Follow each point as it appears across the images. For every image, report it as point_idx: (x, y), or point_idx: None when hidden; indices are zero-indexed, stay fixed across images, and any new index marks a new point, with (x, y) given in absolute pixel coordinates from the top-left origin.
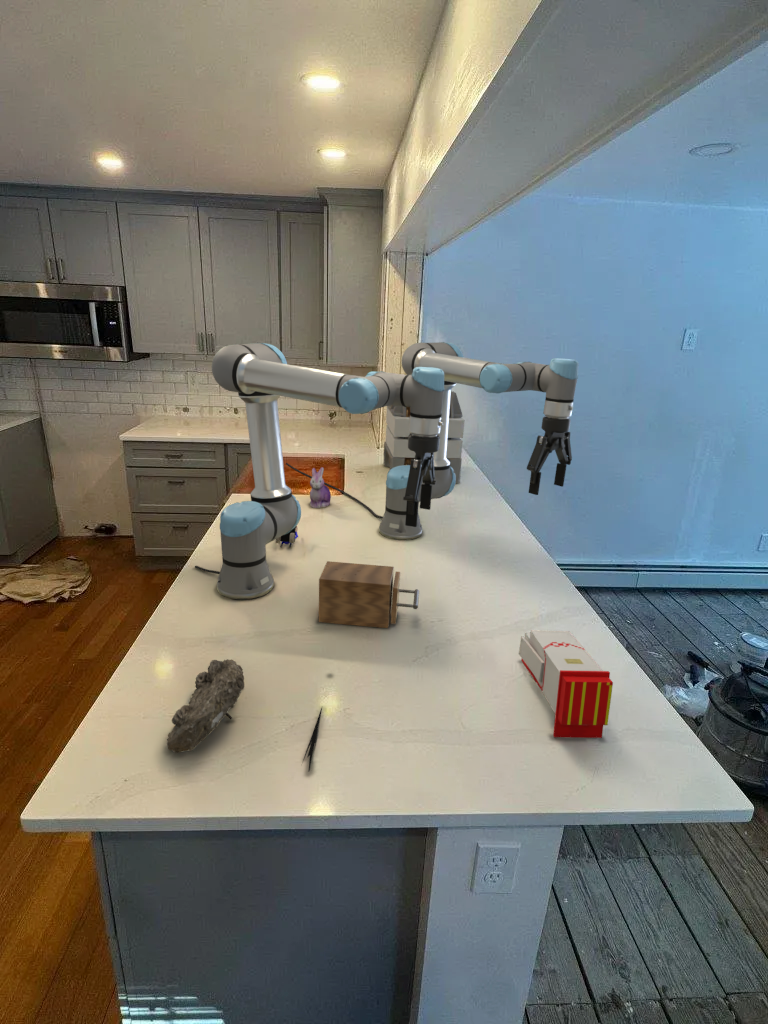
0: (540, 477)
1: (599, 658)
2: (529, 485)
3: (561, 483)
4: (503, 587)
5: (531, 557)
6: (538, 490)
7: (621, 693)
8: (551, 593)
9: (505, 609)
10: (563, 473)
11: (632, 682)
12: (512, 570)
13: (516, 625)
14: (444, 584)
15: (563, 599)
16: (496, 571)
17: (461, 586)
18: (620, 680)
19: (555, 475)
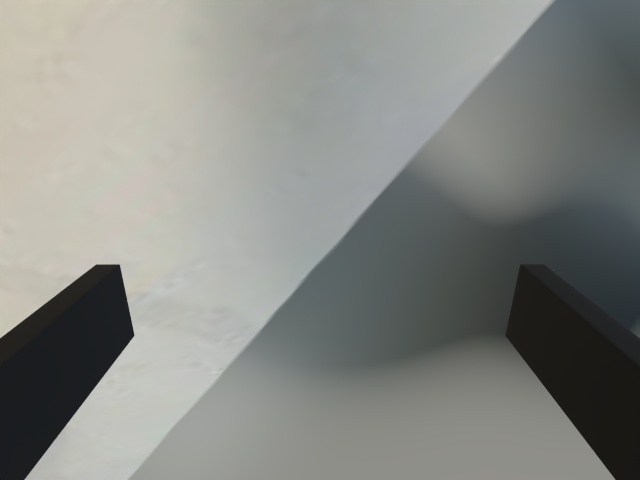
0: (27, 470)
1: (117, 426)
2: (53, 298)
3: (519, 344)
4: (172, 154)
5: (433, 79)
6: (112, 358)
7: (69, 476)
8: (257, 255)
9: (86, 229)
10: (581, 426)
11: (108, 475)
12: (289, 100)
13: (57, 285)
14: (15, 14)
15: (255, 289)
16: (239, 69)
17: (59, 64)
18: (96, 465)
19: (573, 315)
